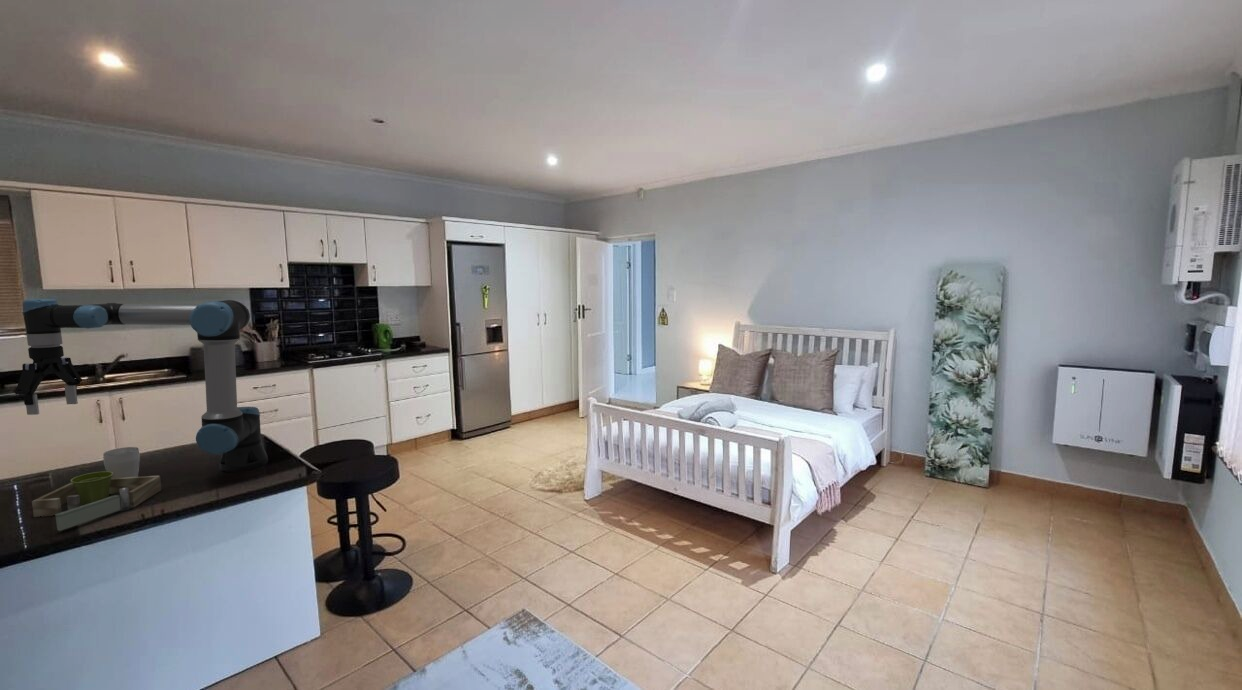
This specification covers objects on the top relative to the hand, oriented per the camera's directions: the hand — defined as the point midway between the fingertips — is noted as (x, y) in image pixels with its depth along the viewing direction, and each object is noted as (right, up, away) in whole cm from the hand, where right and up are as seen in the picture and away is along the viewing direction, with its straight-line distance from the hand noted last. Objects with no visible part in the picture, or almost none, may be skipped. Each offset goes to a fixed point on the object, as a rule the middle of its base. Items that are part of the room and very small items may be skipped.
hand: (53, 409), depth 166 cm
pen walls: (+22, -29, -6) cm, 37 cm away
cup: (+15, -28, +9) cm, 33 cm away
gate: (+32, -30, -18) cm, 48 cm away
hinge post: (+34, -30, -10) cm, 47 cm away
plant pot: (+20, -30, -6) cm, 36 cm away
